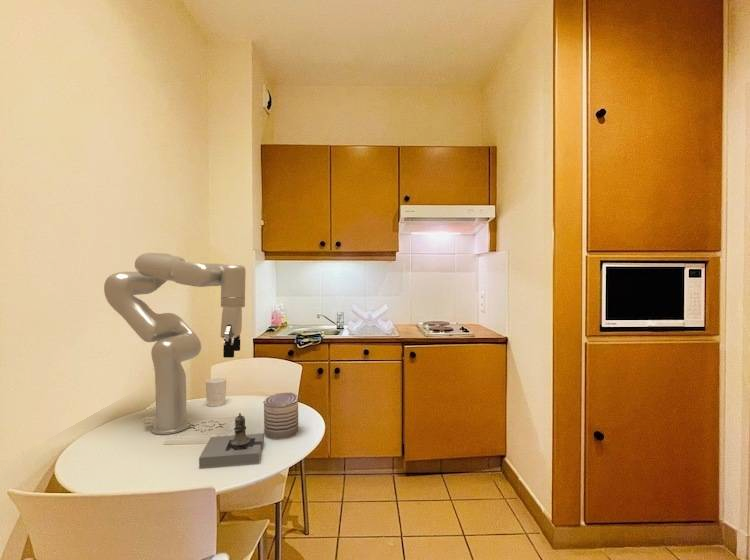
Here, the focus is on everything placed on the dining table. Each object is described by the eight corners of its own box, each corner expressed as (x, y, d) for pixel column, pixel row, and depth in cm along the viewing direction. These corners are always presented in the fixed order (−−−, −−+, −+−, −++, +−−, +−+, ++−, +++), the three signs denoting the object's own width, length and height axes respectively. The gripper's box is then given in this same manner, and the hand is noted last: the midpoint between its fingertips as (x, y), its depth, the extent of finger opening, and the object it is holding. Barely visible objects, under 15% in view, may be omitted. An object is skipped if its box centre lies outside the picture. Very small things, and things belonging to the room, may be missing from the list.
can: (305, 432, 137) (305, 397, 136) (277, 443, 128) (277, 405, 127) (284, 423, 144) (284, 390, 144) (257, 433, 135) (256, 398, 135)
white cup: (230, 404, 165) (229, 379, 165) (211, 408, 159) (210, 383, 159) (221, 399, 170) (220, 376, 170) (202, 404, 165) (202, 379, 164)
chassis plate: (199, 468, 112) (199, 457, 112) (211, 446, 125) (210, 436, 125) (258, 463, 114) (258, 453, 114) (264, 442, 128) (263, 433, 128)
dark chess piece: (230, 458, 116) (230, 417, 116) (229, 450, 122) (228, 411, 121) (251, 454, 119) (251, 414, 118) (249, 446, 124) (249, 408, 124)
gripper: (227, 299, 141) (226, 348, 141) (214, 304, 124) (213, 360, 124) (249, 300, 142) (248, 348, 142) (239, 305, 125) (238, 360, 125)
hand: (232, 353), depth 133 cm, fingers open, 9 cm apart
